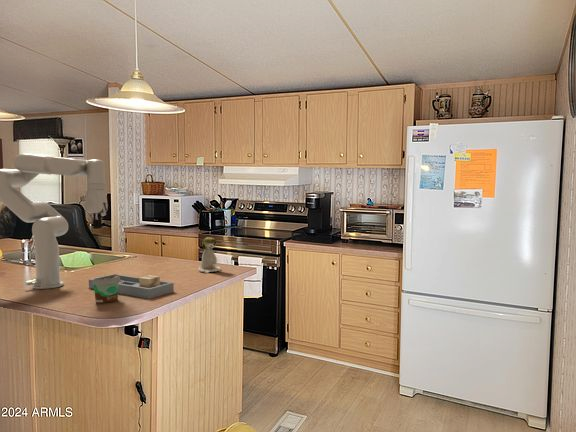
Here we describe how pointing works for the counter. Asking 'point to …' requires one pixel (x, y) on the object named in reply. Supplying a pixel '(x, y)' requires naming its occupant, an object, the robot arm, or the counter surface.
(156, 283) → the maple block
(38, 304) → the counter surface
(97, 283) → the food container
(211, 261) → the grey figurine
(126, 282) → the tray
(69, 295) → the counter surface
